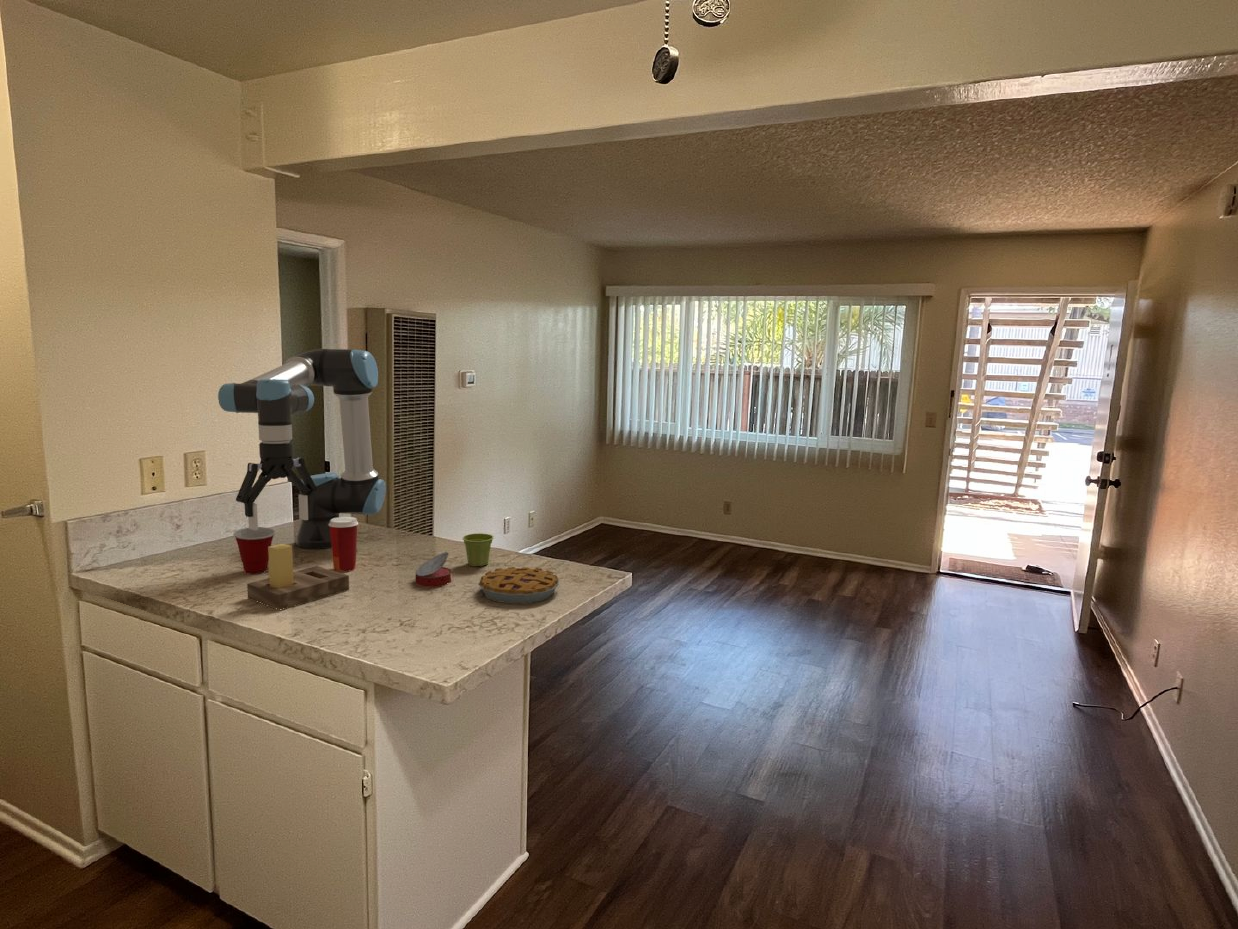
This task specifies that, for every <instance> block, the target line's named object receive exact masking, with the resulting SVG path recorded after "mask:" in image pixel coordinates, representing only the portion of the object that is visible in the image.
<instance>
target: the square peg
mask: <svg viewBox="0 0 1238 929" xmlns="http://www.w3.org/2000/svg"><path fill="white" fill-rule="evenodd" d="M268 553H269V561H268V576H269V577H268V578H270V587H273V588H276V589H280V588H284V587H287V586H291V585H293V572H294V564H293V563H294V561H293V560H294V559H293V558H294V557H293V545H288V544H285V543H280V544H275V545H271V546H270V547H268Z"/></svg>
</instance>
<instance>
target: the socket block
mask: <svg viewBox="0 0 1238 929" xmlns="http://www.w3.org/2000/svg"><path fill="white" fill-rule="evenodd" d="M349 576H350V575H348V574H345V573H342V572H338V571H335V570H332V569H329V568H325V567H321V566H319V565H316V566H311V567H308V568H304V569H299V570H296V571H293V585H291V586H287V587H284V588H280V589H276V588H273V587H270V578H269V577H268V578H265V579H264V578H263V579H260V580H256V581H252V582H248V583H246V584H247V585H246V589H247V590H246V592H247V599H248V598H249V599H248V600H250V599H251V601H253V600H254V602H256V601H258V602H261V603H263V604H262V605H264V604H265V606H267V605H268V606H267V607H269V606H270V608H272V607H274V608H273V609H275V608H277V609H279V610H278V611H281V610H280V609H283V608H286V609H288V608H287V607H289V608H291V607H292V606H293V607H295V605H296V606H298V604H299V605H301V604H302V603H303V604H305V602H306V603H310V602H312V601H316V600H320V599H323V598H326V597H330V596H333V595H335V594H339V593H344V592H346V591H349V590H350V577H349ZM329 595H330V596H329ZM309 601H310V602H309ZM258 602H257V603H258ZM261 603H260V604H261ZM293 607H292V608H293ZM277 609H276V610H277ZM283 610H284V609H283Z"/></svg>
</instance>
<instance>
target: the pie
mask: <svg viewBox="0 0 1238 929" xmlns="http://www.w3.org/2000/svg"><path fill="white" fill-rule="evenodd" d="M559 583H560V579H559V578H558V576H557V575H556V574H553V571H550V570H543V569H542V568H539V567H536V568H529V567H525V566H523V567H520V568H519V567H514V566H512V567H507V568H504V569H502V568H495V569H494V571H491V570H489V571H487V572H486V573H485V575H482V576H481V577H480V580H479V582H478V585H479V587H480V588H481V590H482V591H483V594H484V595H485V597H486V598H487V599H488V600H492V601H495V602H497V601H499V602H498V603H504V602H505V603H506V604H521V603H526V604H533V603H532V602H535V603H539V602H538V601H540V602H542V601H545V600H548V598H550V597H551V596H552V595H553V594H554V592H555V591H556V588H557V587H558V586H559V585H560V584H559ZM550 595H551V596H550ZM549 596H550V597H549Z"/></svg>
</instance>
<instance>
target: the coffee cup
mask: <svg viewBox="0 0 1238 929" xmlns="http://www.w3.org/2000/svg"><path fill="white" fill-rule="evenodd" d="M328 525H329V526H330V534H331V545H332V547H331V555H332V563H333V565H332V566H333V571H335V570H336V571H335V572H338V571H343V573H345V572H344V571H347V572H350V571H349V570H352V571H353V570H355V569H356V563H357V544H358V542H357V541H358V540H357V539H358V525H359V522H358V519H357V518H356V517H353V516H341V517H340V516H339V517H338V518H333V519H331V521H330V523H329V524H328Z"/></svg>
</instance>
